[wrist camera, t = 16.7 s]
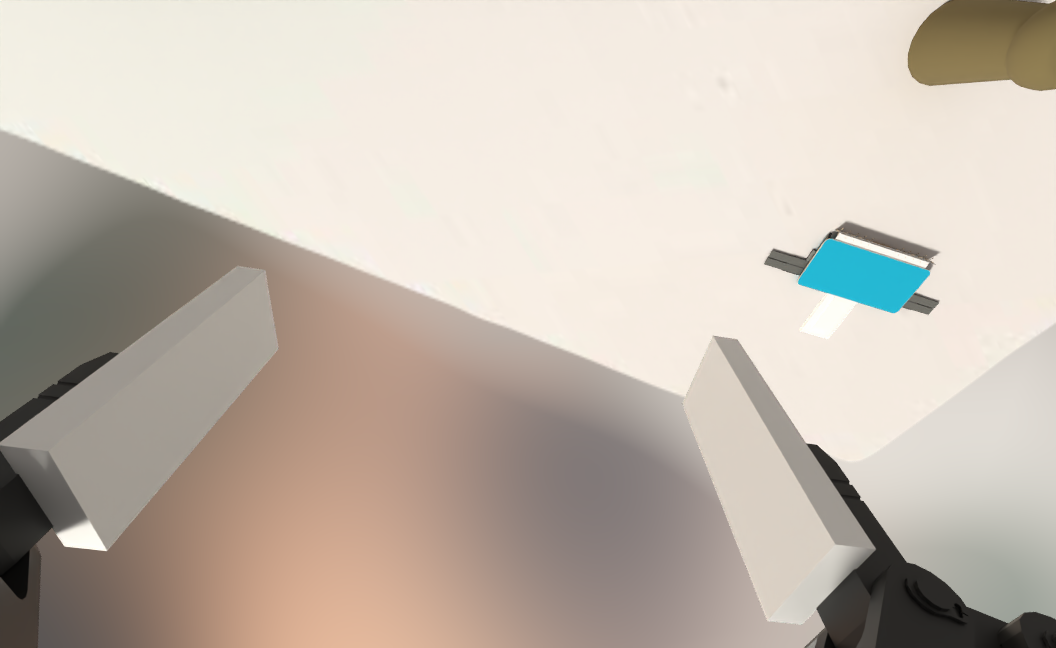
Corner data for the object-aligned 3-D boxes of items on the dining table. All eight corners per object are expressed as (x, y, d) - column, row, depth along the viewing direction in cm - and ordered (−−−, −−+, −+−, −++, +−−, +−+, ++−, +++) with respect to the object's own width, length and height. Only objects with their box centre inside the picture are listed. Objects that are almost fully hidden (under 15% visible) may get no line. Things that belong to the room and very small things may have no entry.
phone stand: (731, 308, 50) (736, 316, 48) (795, 206, 44) (803, 212, 42) (885, 353, 52) (895, 362, 51) (966, 263, 46) (980, 270, 45)
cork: (951, -19, 34) (1108, -42, 24) (1012, 16, 35) (1185, 6, 26) (890, 68, 37) (1009, 77, 28) (948, 97, 38) (1081, 116, 29)
